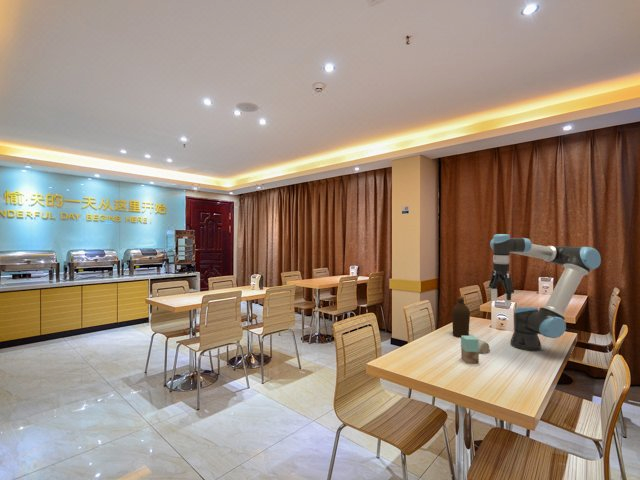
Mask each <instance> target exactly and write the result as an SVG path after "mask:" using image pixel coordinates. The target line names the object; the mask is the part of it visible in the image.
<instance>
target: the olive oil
mask: <svg viewBox="0 0 640 480" xmlns="http://www.w3.org/2000/svg"><path fill="white" fill-rule="evenodd" d="M457 300H458V301H457V303H456V304H455V305H454V306H453V307H452V311H451V320H452V336H454V337H456V338H458V339H459V338H460V339H461V336H470V321H471V311H470V308H469V307H468V306H467V305H466V304H465V297H464V296H458V299H457Z"/></svg>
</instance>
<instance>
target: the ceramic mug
mask: <svg viewBox="0 0 640 480" xmlns="http://www.w3.org/2000/svg"><path fill="white" fill-rule="evenodd" d="M477 339H478V352H479V354H482V355H484V354H488V353H489V352H490V351H491V349H490V345H489V343H488V342H486V341H485V340H482V339H479V338H477Z"/></svg>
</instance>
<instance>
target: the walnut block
mask: <svg viewBox="0 0 640 480" xmlns="http://www.w3.org/2000/svg"><path fill="white" fill-rule="evenodd" d="M460 349H461V351H460V356H461V358H460V360H461V359H462V360H463V361H464V362H465V363H466V364H465V363H464V362H463V361H462V360H461V361H462V362H463V363H464V364H465V365H480V363H479V362H480V358H479V357H480V356H479V355H480V353H479V352H466V351H465V350H463V349H462V348H461V347H460Z"/></svg>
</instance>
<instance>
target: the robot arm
mask: <svg viewBox="0 0 640 480" xmlns="http://www.w3.org/2000/svg"><path fill="white" fill-rule="evenodd" d="M489 246H490V248H491V250H492V253H493V257H492V262H493V264H492V271H491V276H490V281H489V284H488V287H489V288H490V291H491V293H490V294H491V295H490V297H491V298H490V299H491V300H490V301H491V302H497V301H498V285H499V284H500V283H501V284H502V286H503V289H504V291H505V292H504V306H505V307H511V306H512V294H514V293H515V289H514V286H513V282H512V278H511V276H512V275H511V273H507V272H509V271H510V264H509V263H510V253H511V254H516V255H520V256H525V257H531V258H536V259H540V260H543V261H544V262H548V263H551V264H555V265H558V266H559V265H560V266H562V267H563V268H564V270H563V272H562V274H561V275H560V278H559V279H558V281H557V283H556V284H555V286H554V289H553V290H552V292H551V294H550V296H549V298H548V299H547V302H546V304H545V305H544V306H541V307H539V308H538V307H534V306H532V307H531V306H516V307H515V308H514V310H513V312H514V313H513V333H512V335H511V338H510V343H509V344H510V345H511V346H512V347H514V348H517V349H519V350H525V351H529V352H530V351H531V352H534V351H535V352H537V351H542V343H541V341H540V337H539V335H541V336H543V337H545V338H551V339H556V338H560V337H561V336H563V335H564V333H565V332H566V331H567V323H566V321H565V319H566V317H565V315H564V313H565V312H566V309H567V308H568V306H569V304H570V302H571V300H572V298H573V296H574V294H575V293H576V291H577V288H578V287H579V285H580V283H581V281H582V279H583V277H584V276H587V275H589V274H590V272H591V270H596V269H598V268H599V267H600V265H601V262H602V259H601V257H602V256H601V254H600V252H599V251H598V250H597V249H596V248H594V247H590V246H589V247H588V246H568V245H567V246H564V245H562V246H561V245H559V246H558V245H557V246H556V245H555V246H553V245H546V246H545V245H539V244H535V243H532V241H531V240H530V239H529V238H528V237H527V238H525V237H510V234H509V233H508V234H507V233H506V234H505V233H502V234H501V233H498V234H494V235H493V238H492V239H491V240H490V244H489Z"/></svg>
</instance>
